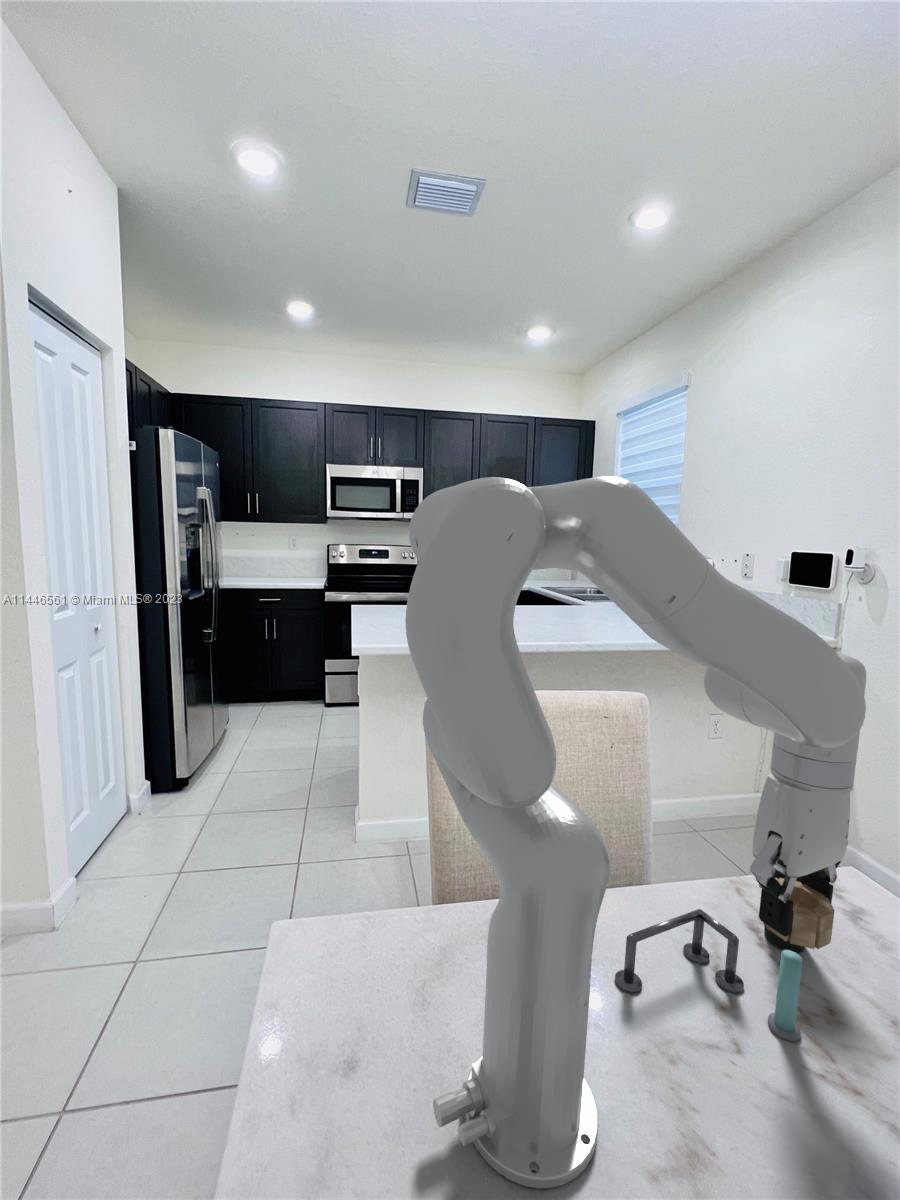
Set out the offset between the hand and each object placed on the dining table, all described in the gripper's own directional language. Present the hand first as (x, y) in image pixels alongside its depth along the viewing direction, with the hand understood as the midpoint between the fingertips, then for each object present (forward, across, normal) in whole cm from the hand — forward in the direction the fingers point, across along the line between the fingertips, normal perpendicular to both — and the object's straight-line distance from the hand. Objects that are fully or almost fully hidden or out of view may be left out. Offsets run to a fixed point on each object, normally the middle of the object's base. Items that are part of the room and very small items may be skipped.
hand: (794, 917), depth 60 cm
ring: (+1, 0, 0) cm, 1 cm away
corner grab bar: (+14, +6, -9) cm, 18 cm away
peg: (+14, 0, 0) cm, 14 cm away
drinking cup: (+14, -14, -9) cm, 22 cm away
